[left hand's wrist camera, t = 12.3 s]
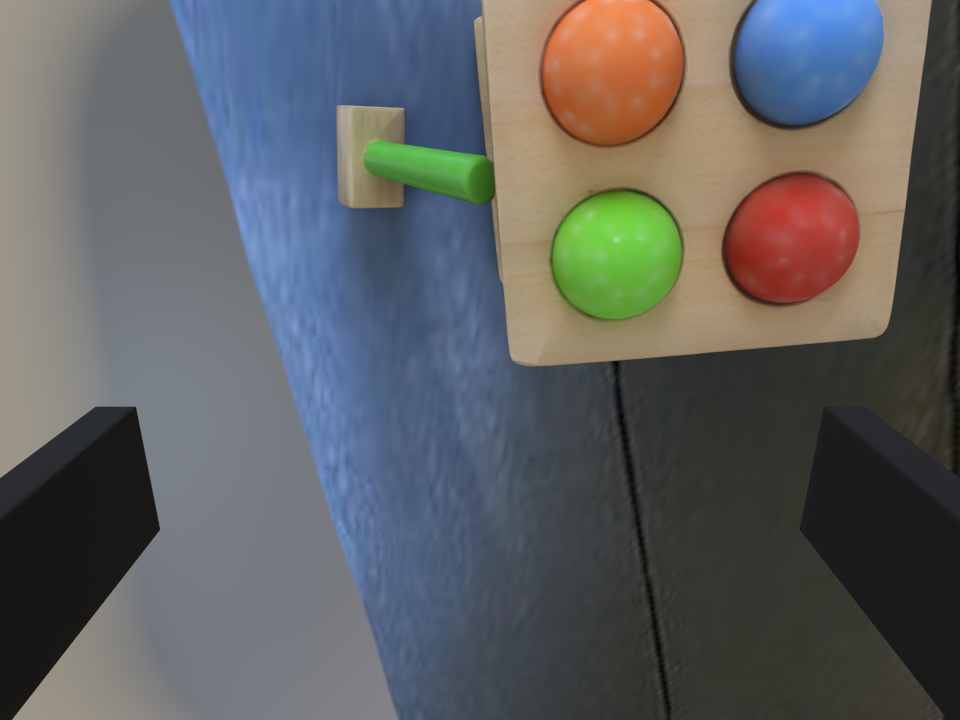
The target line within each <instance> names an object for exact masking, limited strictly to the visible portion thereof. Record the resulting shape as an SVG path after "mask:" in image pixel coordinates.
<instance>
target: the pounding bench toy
mask: <svg viewBox="0 0 960 720" xmlns="http://www.w3.org/2000/svg"><path fill="white" fill-rule="evenodd" d="M931 2H932V0H481V11H482V16H480V17H478V18H476V20H475V21H474V36H475V48H476V58H477V69H478V79H479V88H480V98H481V108H482V118H483V128H484V138H485V148H486V156H483V155H476V154H469V153H460V152H453V151H446V150H439V149H432V148H425V147H418V146H412V145H405V115H406V113H405V110H404V108H393V107H369V106H348V105H338V106H337V164H338V200H339V202H340V203H341V204H343V205H345V206H347V207H349V208H390V207H402V206H403V204H404V184H407V185H410V186H413V187H417V188H420V189H424V190H427V191H430V192H434V193H438V194H442V195H445V196H449V197H453V198H457V199H460V200H464V201H468V202H472V203H476V204H485V203H488V202H490V201H491V206H492V216H493V225H494V235H495V245H496V253H497V262H498V271H499V277H500V281H501V282H502V283H503V289H504V300H505V312H506V323H507V335H508V343H509V351H510V357H511V358H512V360H513V361H514V362H515V363H517V364H521V365H524V366H549V365H564V364H577V363H591V362H603V361H616V360H628V359H641V358H653V357H665V356H677V355H689V354H699V353H708V352H719V351H731V350H743V349H756V348H767V347H779V346H790V345H801V344H812V343H823V342H835V341H845V340H856V339H866V338H875V337H877V336H879V335H881V334H882V333H883V332H884V331H885V329H886V328H887V326H888V323H889V319H890V314H891V309H892V303H893V297H894V290H895V282H896V275H897V267H898V259H899V251H900V243H901V235H902V227H903V220H904V213H905V205H906V197H907V188H908V179H909V170H910V161H911V153H912V145H913V138H914V131H915V123H916V116H917V108H918V101H919V94H920V86H921V78H922V70H923V63H924V57H925V51H926V42H927V33H928V25H929V17H930V9H931Z"/></svg>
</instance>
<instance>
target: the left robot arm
mask: <svg viewBox="0 0 960 720" xmlns="http://www.w3.org/2000/svg"><path fill="white" fill-rule="evenodd" d="M958 261H959V270H960V235H959V244H958ZM159 530H160V526H159V522H158V516H157V511H156V506H155V501H154V496H153V491H152V486H151V481H150V476H149V471H148V466H147V461H146V456H145V451H144V445H143V440H142V435H141V430H140V425H139V420H138V415H137V410H136V407H95V408H93V409H92V410H91V411H89V412H88V413H87V414H85V415H84V416H83V417H81V418H80V419H79V420H77V421H76V422H75V423H73V424H72V425H71V426H69V427H68V428H67V429H65V430H64V431H63V432H61V433H60V434H59V435H57V436H56V437H55V438H53V439H52V440H51V441H49V442H48V443H47V444H45V445H44V446H43V447H41V448H40V449H39V450H37V451H36V452H35V453H33V454H32V455H31V456H29V457H28V458H27V459H25V460H24V461H23V462H21V463H20V464H19V465H17V466H16V467H15V468H13V469H12V470H11V471H9V472H8V473H7V474H5V475H4V476H3V477H1V478H0V720H12V719H13V718H14V716H15V715H16V714H17V713H18V711H19V710H20V709H21V707H22V706H23V705H24V704H25V702H26V701H27V700H28V699H29V697H30V696H31V695H32V693H33V692H34V691H35V690H36V688H37V687H38V686H39V684H40V683H41V682H42V681H43V679H44V678H45V677H46V675H47V674H48V673H49V671H50V670H51V669H52V668H53V666H54V665H55V664H56V663H57V661H58V660H59V659H60V657H61V656H62V655H63V654H64V652H65V651H66V650H67V648H68V647H69V646H70V645H71V643H72V642H73V641H74V639H75V638H76V637H77V636H78V634H79V633H80V632H81V630H82V629H83V628H84V627H85V625H86V624H87V623H88V621H89V620H90V619H91V618H92V616H93V615H94V614H95V613H96V611H97V610H98V609H99V607H100V606H101V605H102V603H103V602H104V601H105V600H106V598H107V597H108V596H109V595H110V593H111V592H112V591H113V589H114V588H115V587H116V586H117V584H118V583H119V582H120V580H121V579H122V578H123V577H124V575H125V574H126V573H127V572H128V570H129V569H130V568H131V566H132V565H133V564H134V562H135V561H136V560H137V559H138V557H139V556H140V555H141V554H142V552H143V551H144V550H145V548H146V547H147V546H148V545H149V543H150V542H151V541H152V539H153V538H154V537H155V536H156V534H157V533H158V532H159ZM800 530H801V532H802V533H803V534H804V536H805V537H806V538H807V539H808V541H809V542H810V543H811V545H812V546H813V547H814V548H815V550H816V551H817V552H818V554H819V555H820V556H821V557H822V559H823V560H824V561H825V563H826V564H827V565H828V566H829V568H830V569H831V570H832V572H833V573H834V574H835V575H836V577H837V578H838V579H839V580H840V582H841V583H842V584H843V586H844V587H845V588H846V589H847V591H848V592H849V593H850V595H851V596H852V597H853V598H854V600H855V601H856V602H857V604H858V605H859V606H860V607H861V609H862V610H863V611H864V613H865V614H866V615H867V616H868V618H869V619H870V620H871V622H872V623H873V624H874V625H875V627H876V628H877V629H878V631H879V632H880V633H881V634H882V636H883V637H884V638H885V640H886V641H887V642H888V643H889V645H890V646H891V647H892V648H893V650H894V651H895V652H896V654H897V655H898V656H899V657H900V659H901V660H902V661H903V663H904V664H905V665H906V666H907V668H908V669H909V670H910V672H911V673H912V674H913V675H914V677H915V678H916V679H917V681H918V682H919V683H920V684H921V686H922V687H923V688H924V690H925V691H926V692H927V693H928V695H929V696H930V697H931V699H932V700H933V701H934V702H935V704H936V705H937V706H938V708H939V709H940V710H941V711H942V713H943V714H944V715H945V716H946V718H947V719H948V720H960V478H959V477H958V476H956V475H955V474H953V473H952V472H951V471H949V470H948V469H947V468H945V467H944V466H943V465H941V464H940V463H939V462H937V461H936V460H935V459H933V458H932V457H931V456H929V455H928V454H927V453H925V452H924V451H923V450H921V449H920V448H919V447H917V446H916V445H915V444H913V443H912V442H911V441H909V440H908V439H907V438H905V437H904V436H903V435H901V434H900V433H899V432H897V431H896V430H895V429H893V428H892V427H891V426H889V425H888V424H887V423H885V422H884V421H883V420H881V419H880V418H879V417H877V416H876V415H875V414H873V413H872V412H871V411H869V410H868V409H867V408H865V407H824V410H823V415H822V420H821V425H820V430H819V435H818V440H817V445H816V451H815V456H814V461H813V466H812V471H811V476H810V481H809V486H808V491H807V496H806V501H805V506H804V511H803V516H802V521H801V526H800Z"/></svg>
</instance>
